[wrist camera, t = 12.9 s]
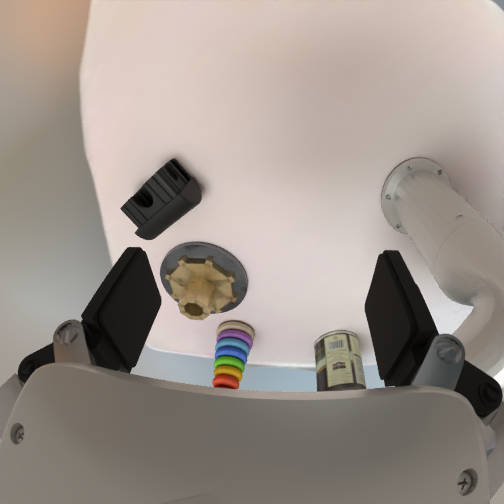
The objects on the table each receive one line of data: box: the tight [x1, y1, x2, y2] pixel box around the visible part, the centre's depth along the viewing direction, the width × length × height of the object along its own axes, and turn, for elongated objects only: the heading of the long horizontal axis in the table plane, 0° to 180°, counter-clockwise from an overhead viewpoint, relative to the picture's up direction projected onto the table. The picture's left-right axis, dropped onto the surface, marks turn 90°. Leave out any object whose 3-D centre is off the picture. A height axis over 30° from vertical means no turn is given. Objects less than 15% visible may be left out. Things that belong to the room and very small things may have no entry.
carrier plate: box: [160, 242, 248, 314], centre depth 48 cm, size 16×16×4 cm
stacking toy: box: [213, 322, 254, 389], centre depth 50 cm, size 8×8×19 cm
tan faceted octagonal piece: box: [165, 255, 238, 320], centre depth 46 cm, size 12×12×6 cm
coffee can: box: [314, 330, 366, 392], centre depth 52 cm, size 10×10×14 cm
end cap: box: [120, 159, 202, 240], centre depth 37 cm, size 10×7×7 cm
